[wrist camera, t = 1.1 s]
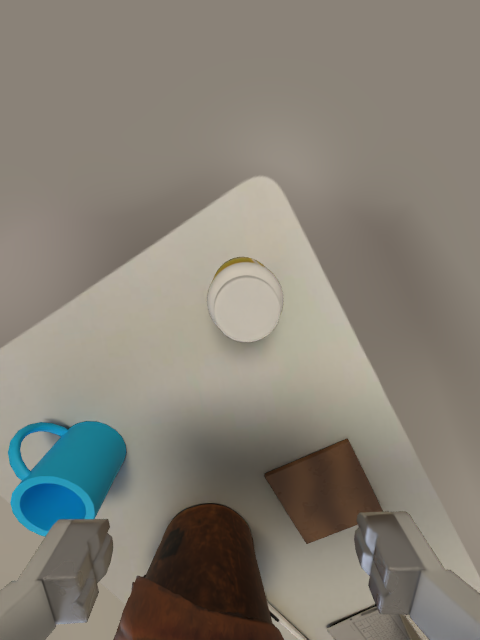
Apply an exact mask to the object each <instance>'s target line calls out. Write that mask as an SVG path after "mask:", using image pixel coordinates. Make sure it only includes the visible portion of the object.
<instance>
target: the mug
mask: <svg viewBox="0 0 480 640" xmlns="http://www.w3.org/2000/svg"><path fill="white" fill-rule="evenodd" d="M38 431H44V432H50V433H53V434H57V435H59V436H60V437H61V438H60V439H59V440H58V441H57V442H56V443H55V444H54V446H53V447H52V448H51V449H50V450H49V451H48V452H47V453H46V455H45V456H44V457H43V458H42V459H41V460H40V461H39V462H38V464H37V465H36V466H35V467H34V468H33V469H32V470H31V471H30V470H29V469H28V468H27V467H26V465H25V463H24V462H23V460H22V457H21V452H20V447H21V442H22V441H23V439H24V438H25V436H27V435H29V434H30V433H33V432H38ZM8 456H9V461H10V465H11V467H12V469H13V470H14V472H15V474H16V476H17V477H18V478H19V479H20V480H22V481H21V483H20V484H19V485H18V486H17V488H16V489H15V490H14V492H13V493H12V498H11V507H12V511H13V514H14V515H15V517H16V518H17V519H18V521H19V522H20V523H21V524H22V525H24V526H25V527H26V528H27V529H29V530H30V531H32V532H35V533H36V534H39V535H41V536H45V537H46V535H47V534H48V532H49V530H50V529H51V527H52V526H53V525H54V524H55V523H56V522H57V521H58V520H59V519H95V517H96V515H97V513H98V511H99V509H100V507H101V505H102V503H103V501H104V499H105V497H106V495H107V493H108V491H109V489H110V487H111V485H112V483H113V481H114V479H115V477H116V475H117V473H118V471H119V469H120V467H121V465H122V463H123V462H124V459H125V456H126V445H125V443H124V440H123V438H122V437H121V436H120V435H119V433H118V432H117V431H116V430H114V429H113V428H111V427H109V426H108V425H106V424H102V423H99V422H91V421H85V422H81V423H77V424H75V425H73V426H72V427H70V428H69V429H66V428H65V427H62V426H59V425H56V424H53V423H43V422H40V423H35V424H30V425H27V426H26V427H24V428H22V429H21V430H19V431H18V432H17V433H16V434H15V436H14V437H13V438H12V440H11V442H10V446H9V450H8Z"/></svg>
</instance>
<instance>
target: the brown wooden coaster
mask: <svg viewBox="0 0 480 640" xmlns="http://www.w3.org/2000/svg"><path fill="white" fill-rule="evenodd" d="M265 478H266V479H267V481H268V483H269V484H270V486H271V488H272V489H273V491H274V492H275V494H276V496H277V497H278V499H279V500H280V502H281V504H282V505H283V507H284V508H285V510H286V512H287V513H288V515H289V516H290V518H291V520H292V521H293V523H294V524H295V526H296V528H297V529H298V531H299V532H300V534H301V536H302V537H303V539H304V540H305V542H306V544H308V543H311V542H313V541H316V540H319V539H321V538H324V537H326V536H329V535H332V534H334V533H337V532H339V531H342V530H345V529H347V528H350V527H352V526H355V525H358V523H357V515H358V514H359V513H361V512H383V510H382V508H381V506H380V504H379V502H378V500H377V498H376V496H375V494H374V492H373V490H372V488H371V485H370V483H369V481H368V479H367V477H366V475H365V473H364V471H363V469H362V467H361V465H360V463H359V461H358V459H357V457H356V455H355V452H354V450H353V448H352V446H351V444H350V442H349V440H348V439H345V440H343V441H340V442H338V443H336V444H333V445H331V446H329V447H326V448H324V449H322V450H319V451H317V452H315V453H312V454H310V455H308V456H305V457H303V458H300V459H298V460H296V461H293V462H291V463H289V464H286V465H284V466H282V467H279V468H277V469H275V470H272V471H270V472H268V473H265Z"/></svg>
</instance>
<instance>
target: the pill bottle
mask: <svg viewBox="0 0 480 640" xmlns="http://www.w3.org/2000/svg"><path fill="white" fill-rule="evenodd" d="M207 305H208V310H209V314H210V316H211V318H212V320H213V321H214V323H215V324H216V325H217V326H218V327H219V328H220V330H221V331H222V332H223V333H224V334H225V335H226V336H228V337H229V338H231V339H233V340H236V341H240V342H254V341H258V340H260V339H262V338H264V337H266V336H267V335H269V334H270V333H271V332H272V331H273V329H274V328H275V327H276V325H277V323H278V320H279V317H280V314H281V311H282V308H283V292H282V288H281V285H280V283H279V281H278V280H277V278H276V277H275V275H274V274H273V273H272V272H271V271H270V270H269V269H267V268H266V267H265V266H264V265H262V264H261V263H260V262H258V261H256V260H254V259H252V258H248V257H237V258H233V259H230V260H228V261H227V262H225V263H224V264H223V265H222V266H221V267H220V268H219V269H218V271H217V272H216V274H215V276H214V278H213V280H212V282H211V285H210V287H209V290H208V295H207Z"/></svg>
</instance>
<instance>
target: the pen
mask: <svg viewBox="0 0 480 640" xmlns="http://www.w3.org/2000/svg"><path fill="white" fill-rule="evenodd" d="M267 603H268V602H267ZM268 607H269V612H270V616H272V617H273V618H274V619H275V620H276V621H277V622H278V621H279V622H280V623H281V624H282V625H283V626H284V627H285V628H286V629H288V630H289V631H290V632H291V633H292V634H293V635H294V636H295V637H296V638H297V639H298V640H308V639H307V638H305V637H304V636H303V635H302V634H301V633H300V632H299V631H298V630H297V629H296V628H295V627H294V626H293V625H292V624H290V623H289V622H288V621H287V620H286V619H285V618H284V617H283V616H282V615H281V614H280V613H279V612H278V611H277V610H275V609H274V608H273V607H272V606H271V605H270V604H269V603H268Z"/></svg>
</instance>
